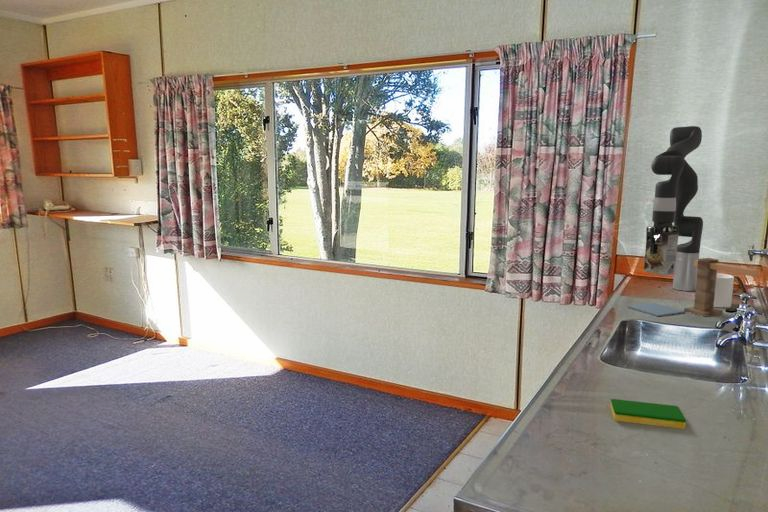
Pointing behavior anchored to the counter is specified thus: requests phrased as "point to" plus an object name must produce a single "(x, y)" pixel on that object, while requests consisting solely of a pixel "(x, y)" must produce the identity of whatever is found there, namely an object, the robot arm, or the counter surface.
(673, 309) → the rubber mat
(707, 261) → the guide stand
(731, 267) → the bar
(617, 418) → the dish sponge
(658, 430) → the counter surface
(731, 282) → the cup
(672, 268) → the coffee box
